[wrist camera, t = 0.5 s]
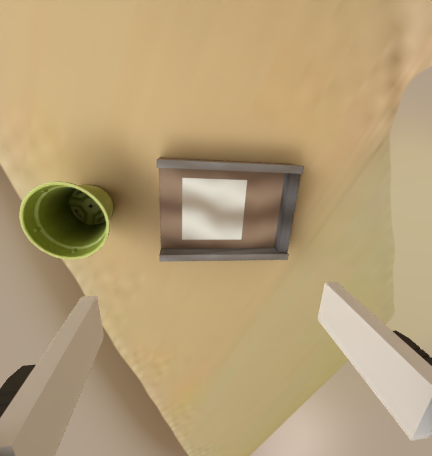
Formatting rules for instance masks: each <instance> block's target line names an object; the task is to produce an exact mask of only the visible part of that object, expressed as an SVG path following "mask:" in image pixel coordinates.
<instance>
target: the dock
mask: <svg viewBox="0 0 432 456" xmlns="http://www.w3.org/2000/svg"><path fill="white" fill-rule="evenodd" d="M157 168H159V192H160V229H161V251H160V261H229V260H288V255H289V254H288V253H287V252H288V246H289V240H290V234H291V228H292V222H293V217H294V211H295V205H296V199H297V193H298V188H299V182H300V176H301V174H303V169H304V166H299V165H293V164H282V163H262V162H241V161H220V160H199V159H179V158H158V159H157Z"/></svg>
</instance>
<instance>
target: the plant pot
mask: <svg viewBox="0 0 432 456" xmlns="http://www.w3.org/2000/svg"><path fill="white" fill-rule="evenodd" d="M80 190H81V191H82V193H80V194H79V195H77V193H78V192H79V191H80ZM90 204H92V205H93V207H92V208H91V207H89V205H90ZM76 209H77V210H78V212H79V213H80V214H81V216H82V217H81V216H79V215H78V214H77V213H76ZM112 213H113V202H112V199H111V197H110V196H109V194H108V193H107V192H106V191H104V190H103V189H101V188H99V187H97V186H93V185H79V186H78V185H75V184H72V183H68V182H58V181H57V182H48V183H44V184H41V185H39V186H37V187H35V188H34V189H32V190H31V191H30V192H29V193H28V194H27V195H26V196H25V198H24V199H23V201H22V203H21V207H20V215H19V216H20V223H21V226H22V229H23V231H24V233H25V234H26V236H27V238H28V239H29V240H30V241H31V242H32V243H33V244H34V245H35V246H36V247H37V248H39V249H40V250H41V251H43V252H45V253H47V254H49V255H51V256H54V257H58V258H61V259H81V258H85V257H88V256H90V255H92V254H94V253H95V252H97V251H98V250H99V249H100V248H101V247H102V246H103V245H104V244H105V242H106V240H107V238H108V235H109V231H110V222H109V220H110V218H111V216H112ZM103 216H105V218H103V220H101V221H99V220H98V219H100V218H101V217H103Z"/></svg>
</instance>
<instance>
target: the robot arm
mask: <svg viewBox="0 0 432 456" xmlns="http://www.w3.org/2000/svg"><path fill="white" fill-rule="evenodd" d="M318 321H319V322H320V323H321V324H322V326H323V327H324V328H325V330H326V331H327V332H328V333H329V335H330V336H331V337H332V339H333V340H334V341H335V342H336V344H337V345H338V346H339V348H340V349H341V350H342V352H343V353H344V354H345V355H346V357H347V358H348V359H349V361H350V362H351V363H352V364H353V366H354V367H355V368H356V370H357V371H358V372H359V373H360V375H361V376H362V377H363V378H364V380H365V381H366V382H367V384H368V385H369V386H370V388H371V389H372V390H373V391H374V393H375V394H376V396H377V397H378V398H379V399H380V401H381V402H382V403H383V404H384V406H385V407H386V408H387V410H388V411H389V412H390V413H391V415H392V416H393V417H394V419H395V420H396V421H397V423H398V424H399V425H400V427H401V428H402V429H403V430H404V432H405V433H406V434H407V436H408V437H409V438H410V439H411V441H412V440H418V439H424V438H429V436H430V435H431V433H432V358H430V357H429V355H428V354H427V353H425V351H423V350H421V349H420V347H419V346H418V345H416V344H415V343H414V342H413V341H412V340H410V339H409V338H408V337H406V336H404V335H402V334H401V333H399V332H397V331H392V330H390V329H389V328H388V327H387V326H386V325H385V324H384V323H383V322H381V321H380V320H379V319H378V318H377V317H376V316H375V315H374V314H372V313H371V312H370V311H369V310H368V309H367V308H366V307H365V306H363V305H362V304H361V303H360V302H359V301H358V300H357V299H356V298H354V297H353V296H352V295H351V294H350V293H349V292H348V291H347V290H345V289H344V288H343V287H342V286H341V285H340V284H339V283H338V282H325V285H324V290H323V295H322V300H321V305H320V310H319V315H318ZM103 338H104V335H103V329H102V323H101V317H100V311H99V306H98V300H97V296H87V297H81V298H80V300H79V301H78V303H77V305H76V306H75V307H74V309H73V310H72V312H71V313H70V315H69V316H68V318H67V319H66V321H65V322H64V324H63V325H62V327H61V328H60V330H59V331H58V333H57V334H56V336H55V337H54V339H53V340H52V342H51V343H50V345H49V346H48V348H47V349H46V351H45V352H44V354H43V355H42V357H41V358H40V360H39V361H38V363H37V364H36V365H28V366H22V367H21V368H20V369H18V370H17V371H16V372H15V373H14V374H13V375H12V376H10V377H9V378H8V379H7V380H6V382H5V383H4V384H3V386H2V387H1V388H0V456H55V454H56V451H57V449H58V446H59V444H60V442H61V439H62V437H63V434H64V432H65V430H66V427H67V425H68V422H69V420H70V418H71V415H72V413H73V410H74V408H75V405H76V403H77V401H78V398H79V396H80V393H81V391H82V388H83V386H84V384H85V381H86V379H87V376H88V374H89V371H90V369H91V366H92V364H93V362H94V359H95V357H96V355H97V352H98V350H99V347H100V345H101V342H102V340H103Z"/></svg>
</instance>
